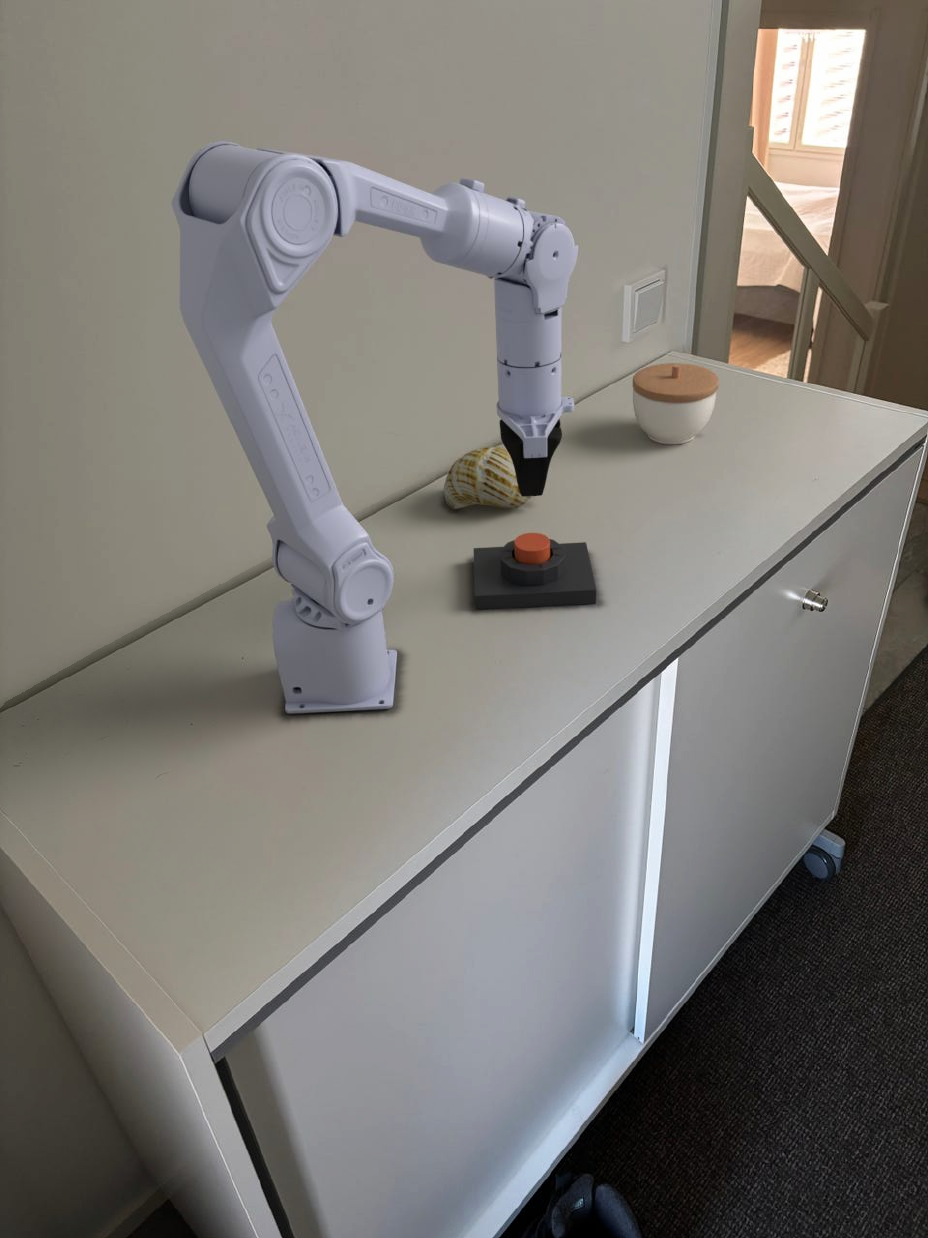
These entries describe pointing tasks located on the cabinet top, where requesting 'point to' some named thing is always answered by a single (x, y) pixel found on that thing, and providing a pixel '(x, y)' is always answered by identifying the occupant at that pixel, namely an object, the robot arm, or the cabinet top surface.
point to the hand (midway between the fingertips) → (531, 492)
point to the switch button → (532, 548)
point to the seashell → (483, 480)
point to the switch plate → (533, 578)
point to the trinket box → (674, 401)
